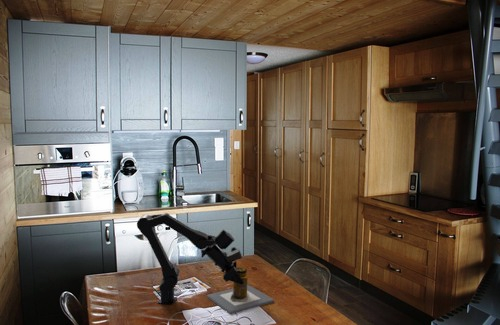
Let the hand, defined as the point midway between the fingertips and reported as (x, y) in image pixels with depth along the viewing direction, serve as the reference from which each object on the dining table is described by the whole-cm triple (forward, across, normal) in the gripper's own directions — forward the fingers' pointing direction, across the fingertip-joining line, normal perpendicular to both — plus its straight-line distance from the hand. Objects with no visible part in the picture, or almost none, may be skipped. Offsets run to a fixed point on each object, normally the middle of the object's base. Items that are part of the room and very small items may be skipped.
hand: (242, 281), depth 181 cm
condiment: (+4, -1, +6) cm, 7 cm away
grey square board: (+5, 0, +7) cm, 8 cm away
